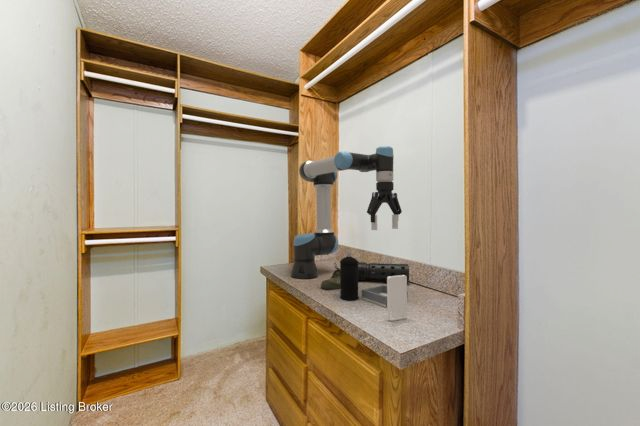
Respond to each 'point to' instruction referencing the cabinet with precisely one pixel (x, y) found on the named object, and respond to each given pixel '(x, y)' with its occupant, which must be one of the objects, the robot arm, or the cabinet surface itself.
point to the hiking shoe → (332, 281)
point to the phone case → (397, 297)
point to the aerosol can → (349, 278)
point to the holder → (376, 295)
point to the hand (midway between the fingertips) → (385, 229)
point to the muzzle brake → (381, 271)
